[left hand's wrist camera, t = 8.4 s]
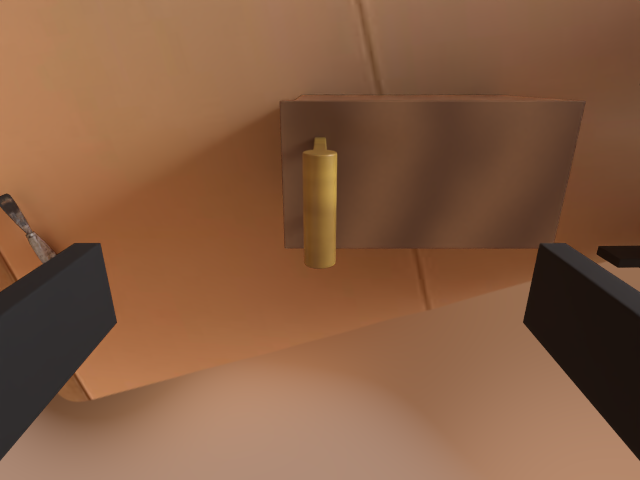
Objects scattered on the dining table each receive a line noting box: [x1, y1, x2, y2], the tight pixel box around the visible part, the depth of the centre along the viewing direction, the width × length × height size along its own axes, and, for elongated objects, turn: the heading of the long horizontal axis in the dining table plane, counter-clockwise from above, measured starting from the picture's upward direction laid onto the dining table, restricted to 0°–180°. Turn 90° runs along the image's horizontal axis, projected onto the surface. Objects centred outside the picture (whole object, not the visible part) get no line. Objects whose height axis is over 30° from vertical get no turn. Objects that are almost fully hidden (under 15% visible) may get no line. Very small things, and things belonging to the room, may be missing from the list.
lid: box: [280, 100, 585, 269], centre depth 23 cm, size 18×9×8 cm, turn 90°
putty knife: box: [0, 194, 56, 264], centre depth 38 cm, size 1×8×2 cm, turn 25°
